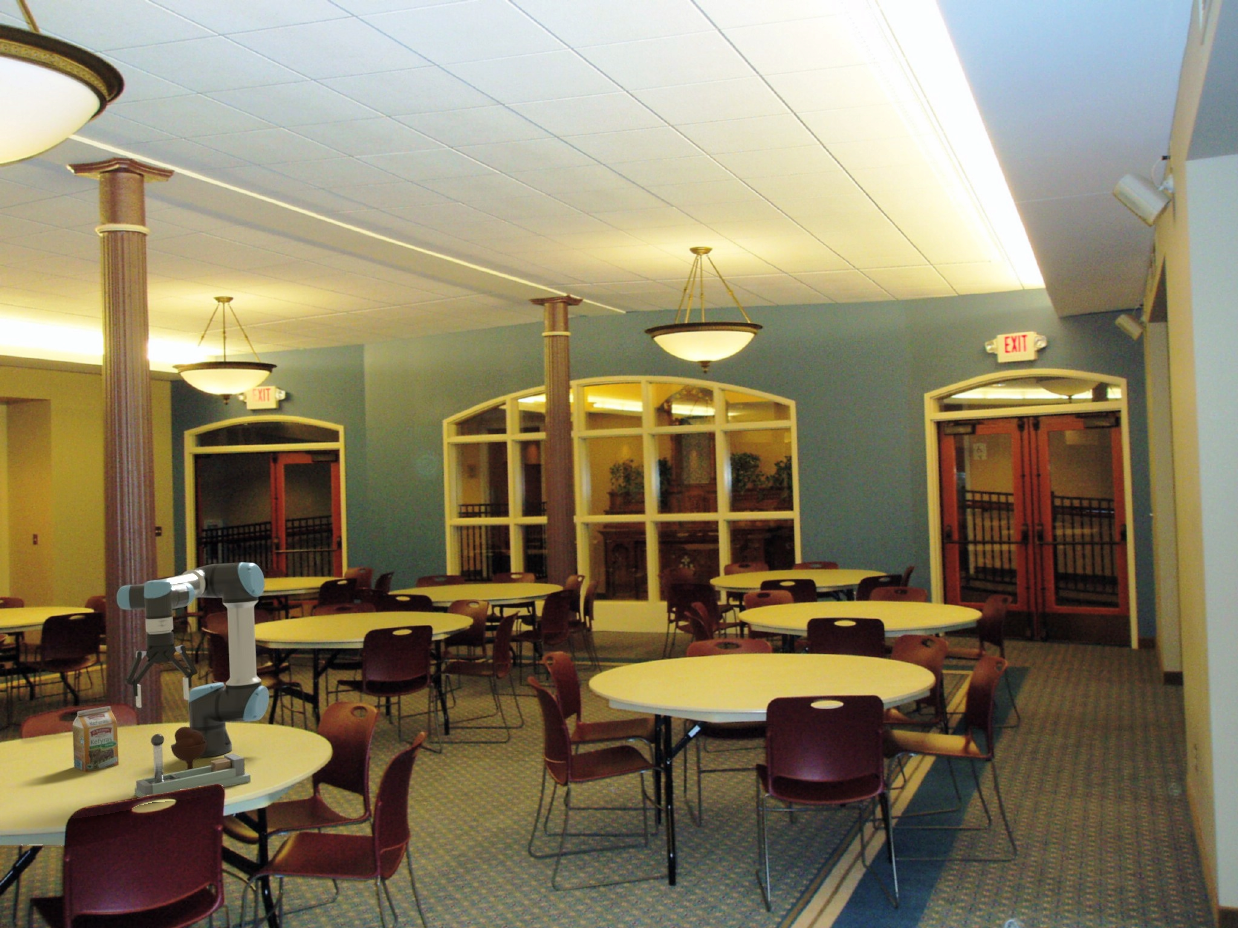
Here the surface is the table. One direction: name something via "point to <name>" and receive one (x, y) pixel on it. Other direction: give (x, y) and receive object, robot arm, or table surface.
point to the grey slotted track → (196, 778)
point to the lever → (159, 760)
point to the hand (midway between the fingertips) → (163, 703)
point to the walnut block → (220, 765)
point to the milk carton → (95, 739)
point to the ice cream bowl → (188, 745)
